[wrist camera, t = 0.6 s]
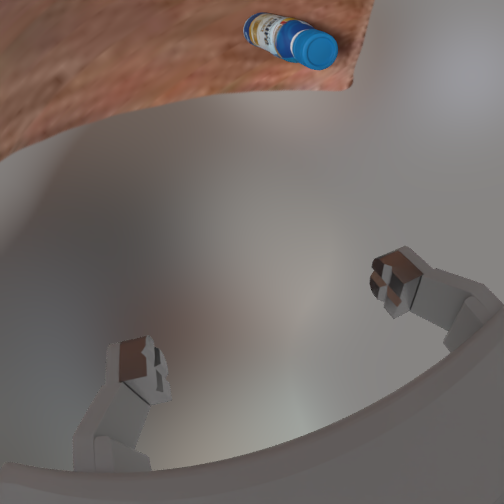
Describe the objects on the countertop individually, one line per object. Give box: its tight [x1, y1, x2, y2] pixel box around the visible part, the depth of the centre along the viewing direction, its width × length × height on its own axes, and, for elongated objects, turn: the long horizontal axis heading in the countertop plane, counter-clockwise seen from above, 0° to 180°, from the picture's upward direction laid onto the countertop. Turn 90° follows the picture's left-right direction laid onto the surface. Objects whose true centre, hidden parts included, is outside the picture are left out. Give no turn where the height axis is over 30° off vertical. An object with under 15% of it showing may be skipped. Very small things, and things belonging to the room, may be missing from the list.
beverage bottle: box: [243, 12, 338, 70], centre depth 36 cm, size 8×8×20 cm
